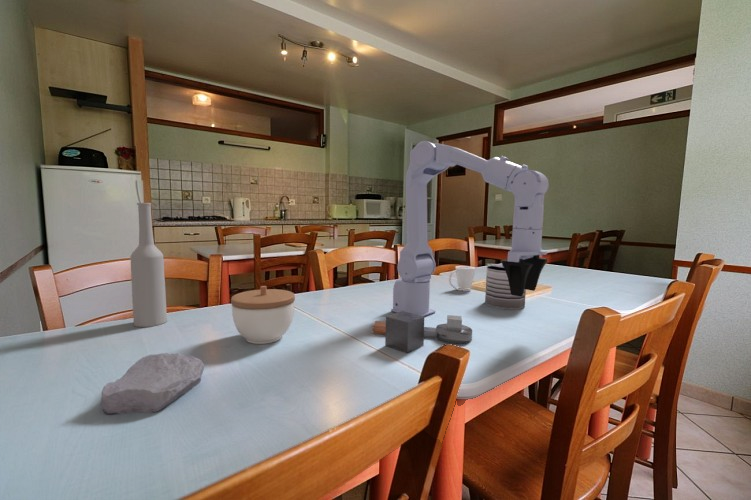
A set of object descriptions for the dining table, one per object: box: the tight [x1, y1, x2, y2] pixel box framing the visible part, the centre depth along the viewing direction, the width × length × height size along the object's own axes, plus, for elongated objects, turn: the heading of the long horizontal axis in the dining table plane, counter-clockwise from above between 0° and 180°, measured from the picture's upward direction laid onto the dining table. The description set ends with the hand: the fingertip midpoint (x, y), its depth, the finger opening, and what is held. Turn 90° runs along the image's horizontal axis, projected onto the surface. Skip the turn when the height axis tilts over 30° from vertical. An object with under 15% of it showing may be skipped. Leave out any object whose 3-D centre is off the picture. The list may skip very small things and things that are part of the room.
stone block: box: [100, 352, 205, 415], centre depth 51 cm, size 12×5×10 cm
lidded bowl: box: [230, 285, 296, 345], centre depth 73 cm, size 13×13×11 cm
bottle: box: [129, 202, 168, 328], centre depth 81 cm, size 7×7×28 cm
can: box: [484, 263, 527, 310], centre depth 104 cm, size 11×11×12 cm
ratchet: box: [372, 314, 473, 345], centre depth 76 cm, size 21×8×4 cm, turn 78°
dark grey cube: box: [384, 311, 425, 354], centre depth 70 cm, size 6×6×6 cm
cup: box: [448, 265, 477, 292], centre depth 123 cm, size 7×10×8 cm
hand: (523, 292), depth 74 cm, fingers open, 7 cm apart
